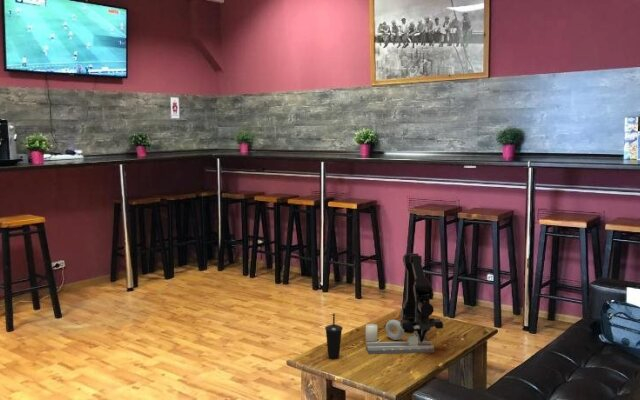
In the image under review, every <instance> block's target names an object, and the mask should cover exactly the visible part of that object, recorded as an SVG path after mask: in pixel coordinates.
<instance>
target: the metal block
mask: <svg viewBox="0 0 640 400" xmlns="http://www.w3.org/2000/svg"><path fill="white" fill-rule="evenodd" d="M413 334H417V336H418V333H417V331H414V332H413ZM418 341H420V340H419V336H418ZM423 341H428V335H427V333H426V334H425V337H424V339H423Z"/></svg>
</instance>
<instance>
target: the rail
mask: <svg viewBox="0 0 640 400" xmlns="http://www.w3.org/2000/svg"><path fill="white" fill-rule="evenodd" d="M365 348H366V351H367V353H368V355H378V354H382V355H383V354H419V353H420V354H422V353H423V354H424V353H425V354H427V353H435V348H434V344H433V345H432V342H431V340H427V341H423V342H420V341H418V346H408V341H383V342H381V341H379V342H377V341H375V342H366V344H365Z"/></svg>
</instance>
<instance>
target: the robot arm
mask: <svg viewBox="0 0 640 400" xmlns="http://www.w3.org/2000/svg"><path fill="white" fill-rule="evenodd" d="M422 259H423V257H422V255H419V253H415V252H414V253H405V254H404V255H403V256H402V263H403V266H404V268H405V269H406V299H405V300H404V302H403V303H402V307H401V311H400V318H401V320H400V321H399V322H400V326H401V327H402V329H404V333H414V331H417V333H418V336H419V340H420V342H423V339H424V337H425V334H427V333H428V332H429V331H431V328H433V327H434V328H435V329H443V328H444V322H443V321H442V320H441V319H440V318H434V317H433V318H432V317H431V318H430V316H431V315H432V314H433V313H434V306H433V305H432V304H431V302H430V300H433V299H434V292H433V291H434V290H433V287H432V285H431V284H430V281H429V279H428V278H427V277H426V276H425V272H424V269H423V265H422V263H423V261H422Z"/></svg>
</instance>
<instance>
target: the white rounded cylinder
mask: <svg viewBox="0 0 640 400" xmlns="http://www.w3.org/2000/svg"><path fill="white" fill-rule="evenodd" d="M365 341H366V342H368V343H370V342H377V341H378V324H375V323H367V324H366V325H365Z"/></svg>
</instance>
